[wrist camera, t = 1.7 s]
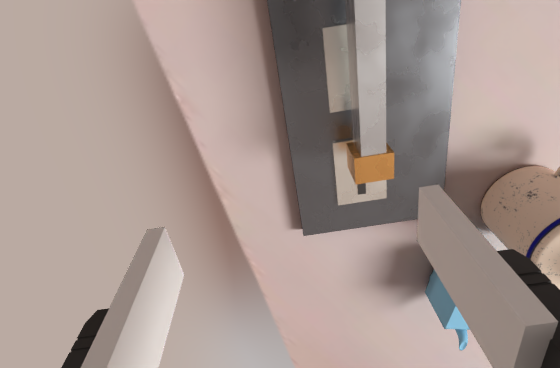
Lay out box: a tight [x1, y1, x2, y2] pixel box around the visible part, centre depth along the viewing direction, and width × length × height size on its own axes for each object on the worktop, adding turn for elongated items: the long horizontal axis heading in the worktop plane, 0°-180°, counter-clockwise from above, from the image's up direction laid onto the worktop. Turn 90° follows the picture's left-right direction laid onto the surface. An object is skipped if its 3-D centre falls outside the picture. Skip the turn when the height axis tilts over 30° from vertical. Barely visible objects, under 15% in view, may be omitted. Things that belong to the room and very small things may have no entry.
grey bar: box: [345, 0, 394, 184], centre depth 26 cm, size 18×4×6 cm, turn 9°
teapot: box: [425, 270, 470, 350], centre depth 40 cm, size 12×6×8 cm, turn 175°
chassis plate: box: [267, 0, 461, 236], centre depth 31 cm, size 28×15×2 cm, turn 9°
